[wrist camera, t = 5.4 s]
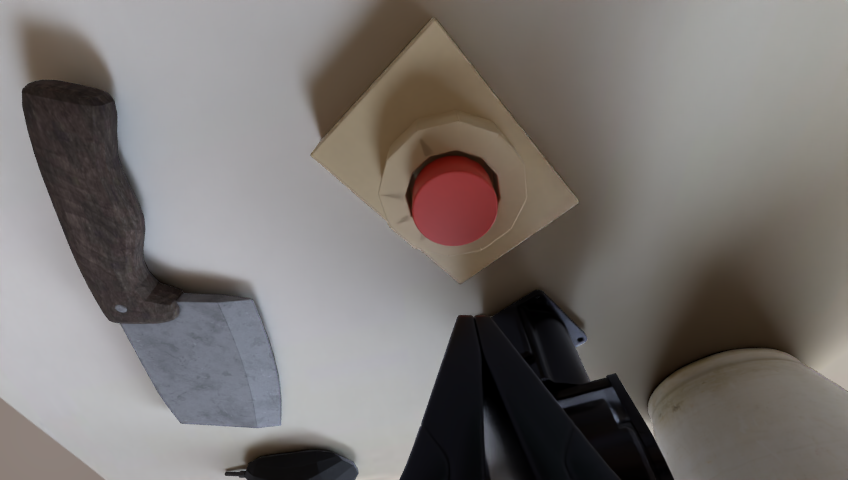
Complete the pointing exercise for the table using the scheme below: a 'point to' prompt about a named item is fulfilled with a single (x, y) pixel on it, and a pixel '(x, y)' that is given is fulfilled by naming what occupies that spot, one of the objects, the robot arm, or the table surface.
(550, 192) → the panel
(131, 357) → the table surface
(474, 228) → the button
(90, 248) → the cleaver
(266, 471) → the gaming mouse
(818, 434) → the white bell
